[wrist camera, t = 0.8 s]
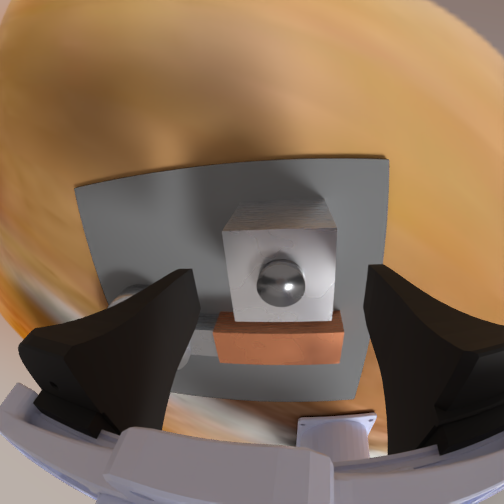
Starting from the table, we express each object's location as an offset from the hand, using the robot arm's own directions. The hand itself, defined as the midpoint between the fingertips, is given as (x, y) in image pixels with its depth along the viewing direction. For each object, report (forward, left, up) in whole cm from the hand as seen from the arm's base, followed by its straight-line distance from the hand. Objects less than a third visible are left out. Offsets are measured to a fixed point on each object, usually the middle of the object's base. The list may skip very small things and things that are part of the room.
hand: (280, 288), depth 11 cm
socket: (0, 0, -5) cm, 5 cm away
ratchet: (-7, +5, -5) cm, 10 cm away
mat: (-6, +4, -6) cm, 9 cm away
